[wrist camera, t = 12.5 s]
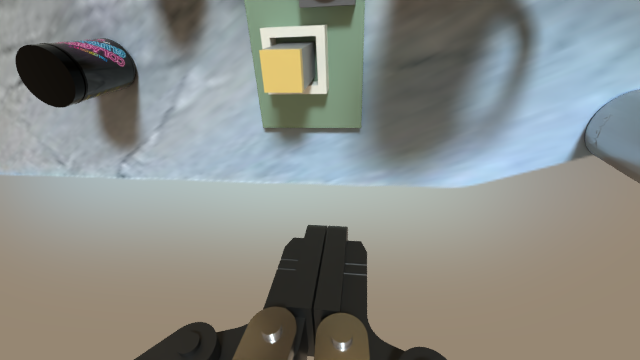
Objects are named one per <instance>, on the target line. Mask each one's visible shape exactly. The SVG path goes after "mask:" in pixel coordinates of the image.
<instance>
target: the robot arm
mask: <svg viewBox="0 0 640 360" xmlns="http://www.w3.org/2000/svg"><path fill="white" fill-rule="evenodd" d="M585 142H586V146H587V148H588V149H589V151H590V152H591V153H593V154H594V155H595V156H597V157H598V158H600V159H601V160H603V161H605V162H606V163H608V164H609V165H611V166H613V167H614V168H616V169H617V170H619V171H620V172H622V173H624V174H625V175H627V176H629V177H630V178H632V179H634V180H635V181H637V182H638V183H640V90H634V91H631V92H628V93H625V94H623V95H621V96H619V97H617V98H615V99H613V100H612V101H610V102H609V103H607V104H606V105H605V106H603V107H602V108H601V109H600V110H599V111H598V112H597V113H596V114H595V116H594V117H593V118H592V120H591V121H590V123H589V125H588V127H587V130H586V133H585ZM307 356H314V360H447V359H446V358H445V357H443V356H442V355H441V354H439V353H438V352H436V351H434V350H432V349H429V348H425V347H414V348H411V349H409V350H407V351H403V350H401V349H398V348H396V347H394V346H392V345H390V344H388V343H386V342H384V341H383V340H381V339H380V338H379V337H378V336H376V334H375V333H374V332H373V330H372V329H371V327H370V325H369V323H368V319H367V252H366V250H365V248H364V246H363V244H362V243H361V242H360V241H348V227H340V226H328V227H327V226H320V225H308V226H307V230H306V234H305V237H304V238H293V239H292V240H291V241H290V242H289V243H288V244H287V245H286V246H285V249H284V251H283V254H282V257H281V261H280V264H279V266H278V270H277V271H276V274H275V277H274V280H273V283H272V286H271V289H270V292H269V295H268V297H267V300H266V303H265V306H264V308H263V310H261V311H260V312H258V313H257V314H256V315H255V316H254V317H253V318H252V319H251V320H250V322H249V323H248V324H246V325H244V326H242V327H238V328H235V329H230V330H225V331H221V332H215V330H214V328H213V327H212V326H211V325H209V324H207V323H203V322H195V323H191V324H188V325H186V326H184V327H182V328H180V329H179V330H177V331H176V332H174V333H173V334H171V335H170V336H168V337H167V338H165V339H164V340H163V341H161V342H160V343H158V344H156V345H155V346H154V347H152V348H151V349H149V350H148V351H146V352H145V353H143V354H142V355H140V356H139V357H137V358H136V359H134V360H307Z"/></svg>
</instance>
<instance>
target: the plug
mask: <svg viewBox="0 0 640 360" xmlns="http://www.w3.org/2000/svg"><path fill="white" fill-rule="evenodd" d="M259 53H260V61H261V69H262V77H263V85H264V93H303V91H304V90H305V89H306V88H307V86H308V85H309V84H310V83H311V81H312V80H313V79H314V78H315V76H316V70H315V43H314V42H282V43H279V44H276V45H273V46H270V47H268V48H265V49H262V50H259Z"/></svg>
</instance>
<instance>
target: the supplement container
mask: <svg viewBox="0 0 640 360" xmlns="http://www.w3.org/2000/svg"><path fill="white" fill-rule="evenodd" d="M16 67H17V71H18V73H19V76H20V78H21V80H22V81H23V83H24V84H25V86H26V87H27V88H28V89H29V90H30V92H31V93H32V94H33V95H35V96H36V97H37V98H38V99H40V100H41V101H43V102H44V103H46V104H48V105H51V106H54V107H66V106H70V105H73V104H77V103H80V102H82V101H85V100H88V99H91V98H94V97H98V96H101V95H104V94H107V93H110V92H114V91H117V90H120V89H123V88H126V87H128V86H130V85H131V84H132V82H133V81H134V78H135V65H134V62H133V60H132V58H131V56H130V55H129V53H128V52H127V51H126V50H125V49H124V48H123V47H122V46H121V45H120V44H118V43H116V42H115V41H112V40H110V39H106V38H100V39H89V40H79V41H68V42H58V43H40V44H33V45H26V46H23V47H21V48H20V49H19V50H18V52H17V54H16Z"/></svg>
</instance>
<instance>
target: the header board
mask: <svg viewBox="0 0 640 360" xmlns="http://www.w3.org/2000/svg"><path fill="white" fill-rule="evenodd" d="M244 2H245V8H246V15H247V22H248V29H249V35H250V42H251V49H252V55H253V62H254V69H255V75H256V82H257V89H258V96H259V102H260V109H261V116H262V122H263V128H361V116H362V81H363V45H364V10H365V0H244ZM282 42H314V43H315V70H316V76H315V78H314V79H313V80H312V81H311V83H310V84H309V85H308V86H307V88H306V89H305V90H304V91H303V93H264V85H263V77H262V69H261V61H260V53H259V50H262V49H265V48H268V47H270V46H273V45H276V44H279V43H282Z"/></svg>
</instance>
